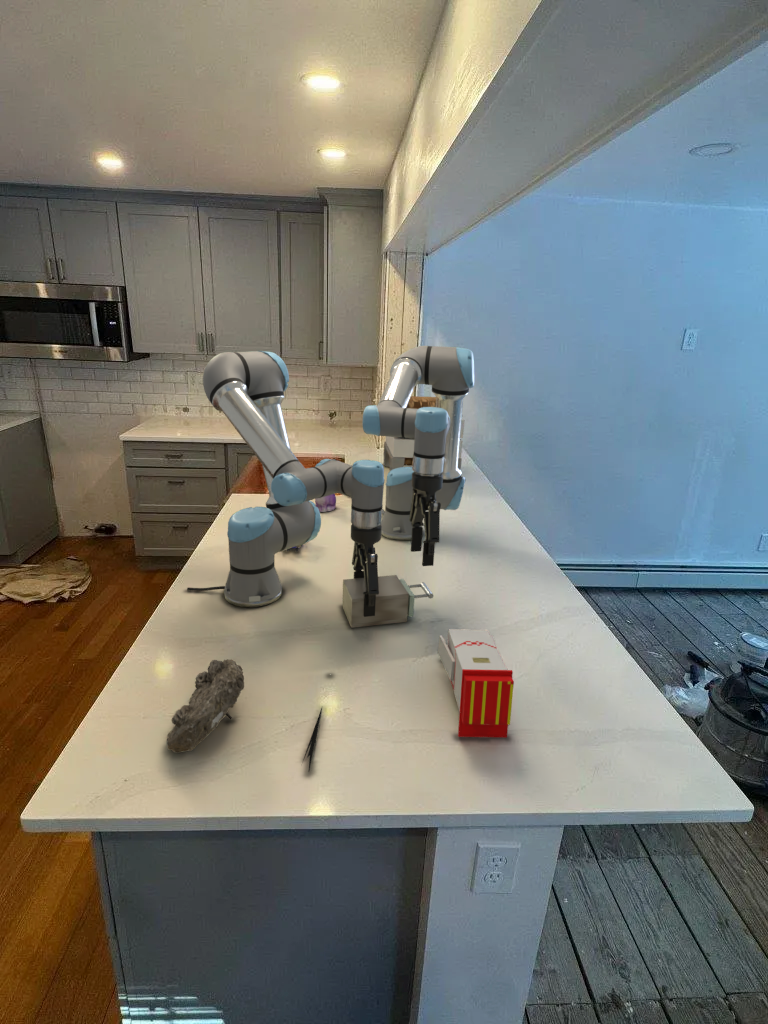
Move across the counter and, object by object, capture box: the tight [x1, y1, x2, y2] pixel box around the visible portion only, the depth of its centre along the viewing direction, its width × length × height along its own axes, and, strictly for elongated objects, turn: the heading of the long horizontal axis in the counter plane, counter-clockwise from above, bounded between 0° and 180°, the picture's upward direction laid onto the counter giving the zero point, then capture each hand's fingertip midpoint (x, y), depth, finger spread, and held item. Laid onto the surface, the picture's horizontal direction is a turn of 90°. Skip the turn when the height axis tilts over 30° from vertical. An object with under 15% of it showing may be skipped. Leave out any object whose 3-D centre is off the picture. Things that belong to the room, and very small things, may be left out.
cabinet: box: [341, 574, 409, 629], centre depth 146 cm, size 14×11×8 cm
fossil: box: [166, 658, 245, 754], centre depth 106 cm, size 22×10×15 cm
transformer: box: [382, 395, 465, 472], centre depth 268 cm, size 34×33×41 cm
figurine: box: [314, 493, 337, 513], centre depth 218 cm, size 9×10×15 cm
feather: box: [301, 673, 332, 771], centre depth 108 cm, size 2×28×2 cm
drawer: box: [399, 578, 434, 618], centre depth 147 cm, size 19×10×6 cm, turn 106°
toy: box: [437, 628, 515, 738], centre depth 117 cm, size 12×13×30 cm
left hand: (363, 604), depth 145 cm, fingers closed on cabinet, 11 cm apart
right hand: (421, 557), depth 145 cm, fingers open, 8 cm apart
